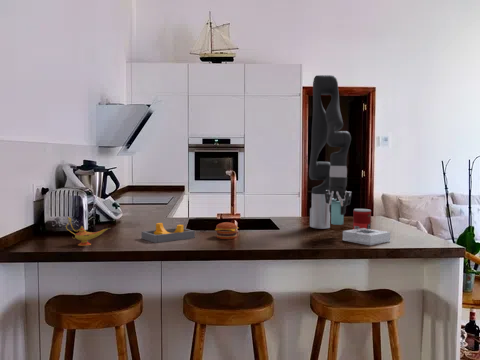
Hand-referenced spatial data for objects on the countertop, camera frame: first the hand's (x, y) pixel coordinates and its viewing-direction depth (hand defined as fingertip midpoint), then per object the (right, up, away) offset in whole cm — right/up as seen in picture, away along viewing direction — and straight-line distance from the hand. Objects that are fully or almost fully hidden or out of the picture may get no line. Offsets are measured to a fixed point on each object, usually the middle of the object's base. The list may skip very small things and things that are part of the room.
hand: (337, 213), depth 201 cm
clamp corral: (-75, -10, -5) cm, 76 cm away
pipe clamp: (-74, -11, -6) cm, 75 cm away
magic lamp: (-104, -11, -21) cm, 107 cm away
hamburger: (-49, -10, -2) cm, 50 cm away
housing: (+10, -11, -9) cm, 18 cm away
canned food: (+14, -10, +12) cm, 21 cm away
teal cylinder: (0, -5, 0) cm, 5 cm away
